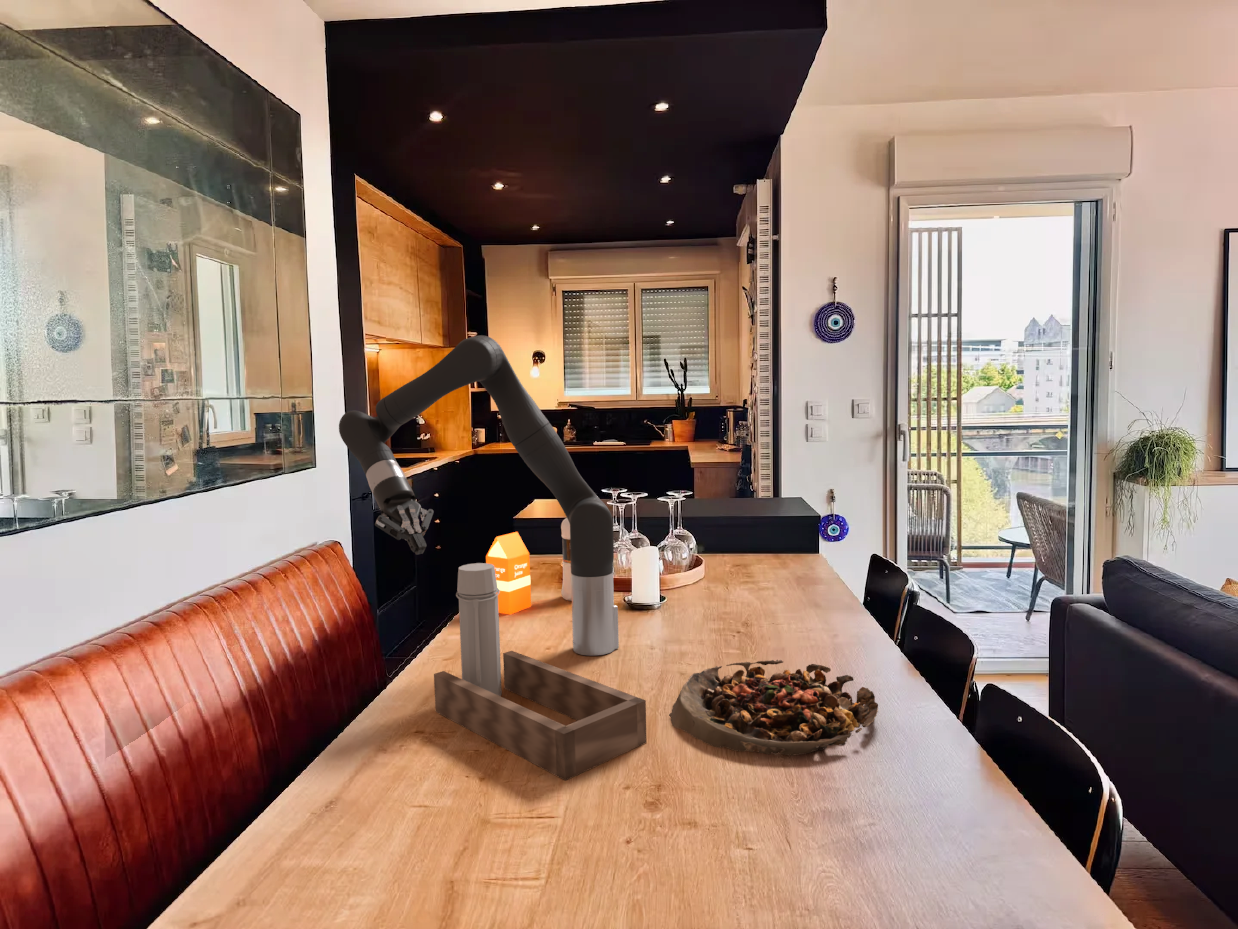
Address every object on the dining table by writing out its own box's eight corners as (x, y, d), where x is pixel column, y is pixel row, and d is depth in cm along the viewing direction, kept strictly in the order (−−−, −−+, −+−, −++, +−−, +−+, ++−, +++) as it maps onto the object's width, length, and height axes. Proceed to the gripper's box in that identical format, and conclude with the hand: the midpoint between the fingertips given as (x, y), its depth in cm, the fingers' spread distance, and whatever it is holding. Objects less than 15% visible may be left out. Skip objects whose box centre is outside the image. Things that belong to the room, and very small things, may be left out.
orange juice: (531, 606, 207) (529, 532, 206) (510, 614, 200) (507, 538, 198) (509, 602, 212) (506, 530, 210) (487, 610, 204) (484, 535, 202)
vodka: (584, 591, 222) (581, 487, 219) (601, 598, 214) (598, 490, 211) (555, 597, 217) (552, 490, 214) (572, 604, 209) (569, 493, 206)
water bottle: (463, 692, 148) (457, 563, 145) (504, 690, 148) (500, 561, 146) (457, 712, 139) (451, 574, 136) (501, 710, 139) (496, 572, 137)
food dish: (878, 696, 145) (880, 656, 144) (875, 785, 114) (877, 734, 113) (694, 672, 156) (694, 634, 155) (645, 746, 125) (645, 700, 124)
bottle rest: (435, 712, 139) (433, 673, 138) (512, 685, 151) (511, 650, 150) (565, 780, 113) (564, 734, 113) (646, 742, 125) (645, 700, 124)
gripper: (365, 477, 157) (396, 545, 149) (423, 472, 166) (456, 535, 158) (354, 501, 161) (384, 568, 154) (412, 494, 171) (443, 557, 163)
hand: (421, 551), depth 156 cm, fingers closed
